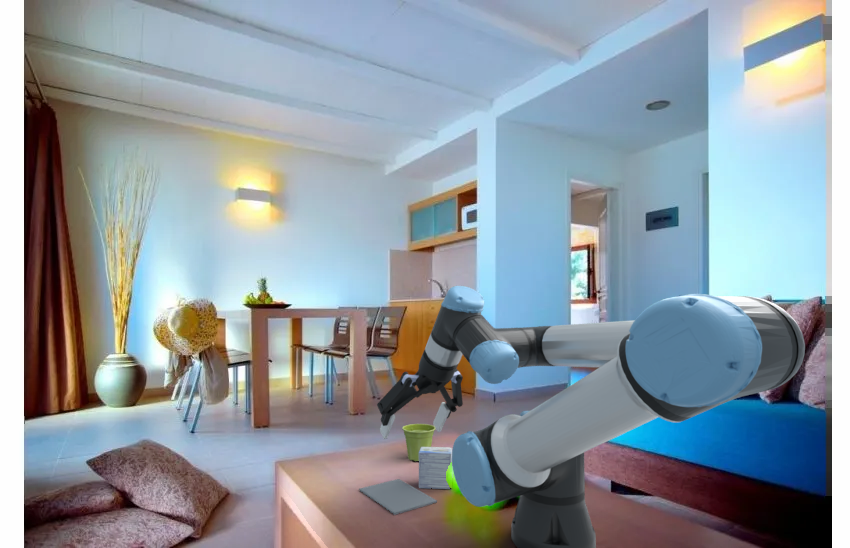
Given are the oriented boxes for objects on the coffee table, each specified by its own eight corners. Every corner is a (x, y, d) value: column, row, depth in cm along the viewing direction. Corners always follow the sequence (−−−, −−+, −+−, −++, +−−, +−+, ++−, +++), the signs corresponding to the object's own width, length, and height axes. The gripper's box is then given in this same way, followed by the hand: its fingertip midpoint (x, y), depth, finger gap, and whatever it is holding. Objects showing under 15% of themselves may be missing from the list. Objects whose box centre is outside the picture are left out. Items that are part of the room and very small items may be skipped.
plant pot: (399, 454, 140) (399, 424, 140) (430, 452, 142) (430, 422, 142) (405, 465, 131) (405, 432, 131) (439, 462, 133) (439, 430, 133)
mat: (437, 502, 106) (437, 500, 106) (394, 514, 100) (394, 513, 100) (398, 480, 120) (398, 478, 120) (359, 490, 113) (359, 488, 113)
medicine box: (452, 483, 118) (452, 447, 118) (451, 490, 114) (451, 452, 114) (420, 481, 119) (420, 446, 119) (418, 488, 114) (418, 451, 115)
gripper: (481, 343, 107) (449, 413, 116) (379, 345, 95) (353, 423, 104) (499, 365, 102) (464, 437, 111) (393, 371, 89) (364, 451, 98)
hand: (410, 430), depth 107 cm, fingers open, 13 cm apart
